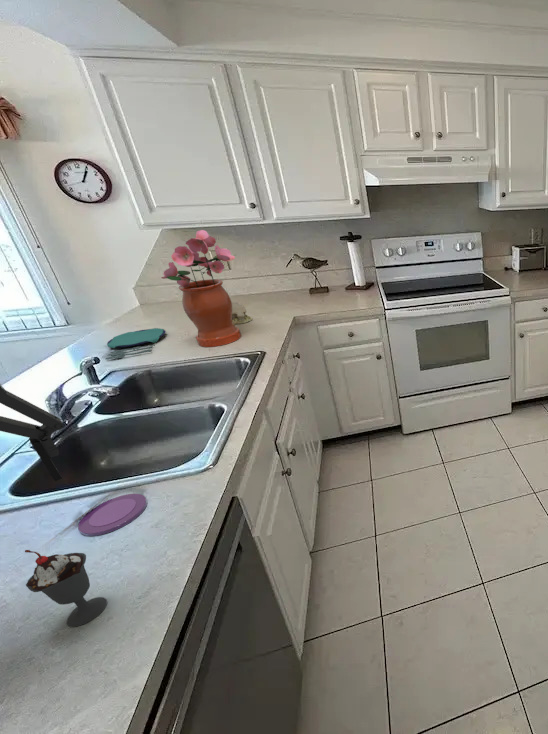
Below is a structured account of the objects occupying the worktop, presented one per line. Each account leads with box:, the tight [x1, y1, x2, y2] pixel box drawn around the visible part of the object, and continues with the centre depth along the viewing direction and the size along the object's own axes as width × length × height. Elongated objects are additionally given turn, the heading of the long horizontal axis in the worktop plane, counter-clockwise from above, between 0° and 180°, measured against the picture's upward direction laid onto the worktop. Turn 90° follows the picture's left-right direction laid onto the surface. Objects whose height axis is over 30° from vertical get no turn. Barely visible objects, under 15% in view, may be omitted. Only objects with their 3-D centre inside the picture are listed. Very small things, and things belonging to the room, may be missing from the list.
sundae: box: [24, 549, 108, 628], centre depth 65 cm, size 7×7×15 cm
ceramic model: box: [232, 301, 253, 325], centre depth 194 cm, size 14×11×10 cm
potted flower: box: [160, 229, 242, 348], centre depth 166 cm, size 19×25×45 cm
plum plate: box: [77, 493, 148, 537], centre depth 87 cm, size 11×11×1 cm
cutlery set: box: [104, 327, 166, 361], centre depth 173 cm, size 20×30×2 cm, turn 27°
